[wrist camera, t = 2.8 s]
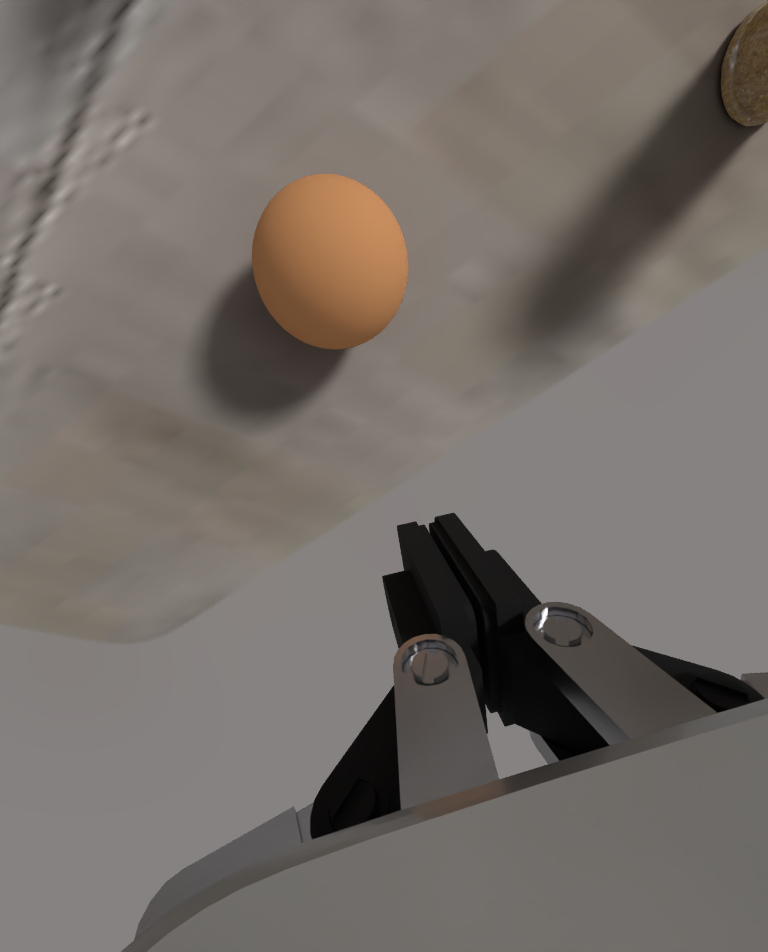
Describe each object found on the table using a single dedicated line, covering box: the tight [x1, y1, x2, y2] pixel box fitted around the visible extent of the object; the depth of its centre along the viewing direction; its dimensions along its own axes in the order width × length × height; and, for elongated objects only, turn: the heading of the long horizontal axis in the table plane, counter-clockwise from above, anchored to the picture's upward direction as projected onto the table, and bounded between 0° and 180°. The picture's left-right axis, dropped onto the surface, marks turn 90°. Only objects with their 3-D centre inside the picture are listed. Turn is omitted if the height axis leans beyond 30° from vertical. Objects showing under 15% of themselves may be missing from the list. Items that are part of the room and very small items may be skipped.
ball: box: [252, 174, 408, 349], centre depth 15 cm, size 6×6×6 cm
